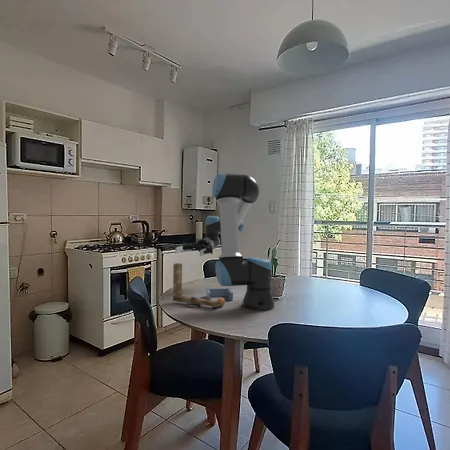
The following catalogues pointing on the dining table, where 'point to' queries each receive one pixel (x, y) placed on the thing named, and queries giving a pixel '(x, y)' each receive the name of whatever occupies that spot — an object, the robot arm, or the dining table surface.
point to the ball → (221, 301)
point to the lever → (178, 290)
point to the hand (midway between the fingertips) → (188, 251)
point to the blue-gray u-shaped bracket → (219, 292)
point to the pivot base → (192, 305)
